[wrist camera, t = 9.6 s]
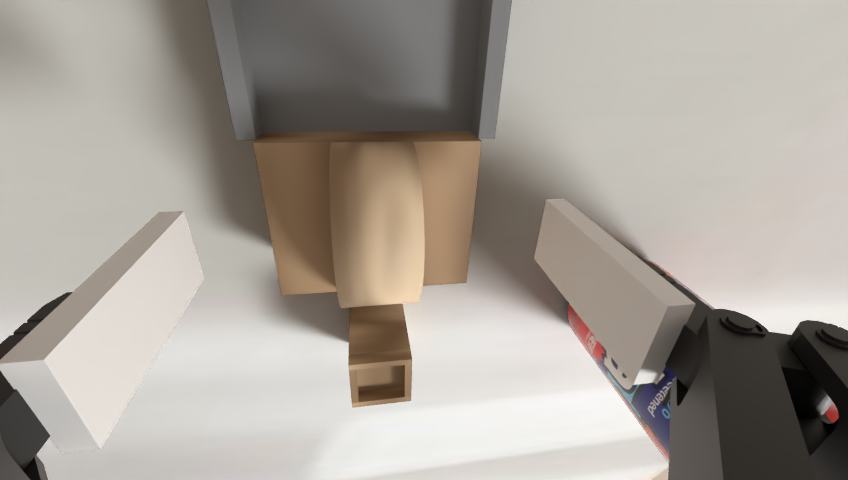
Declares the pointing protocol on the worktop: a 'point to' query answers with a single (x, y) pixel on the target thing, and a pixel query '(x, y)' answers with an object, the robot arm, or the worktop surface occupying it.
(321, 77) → the tray
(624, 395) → the soda can
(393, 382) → the hollow wooden sleeve
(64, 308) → the robot arm
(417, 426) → the worktop surface
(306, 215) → the tan rounded block
